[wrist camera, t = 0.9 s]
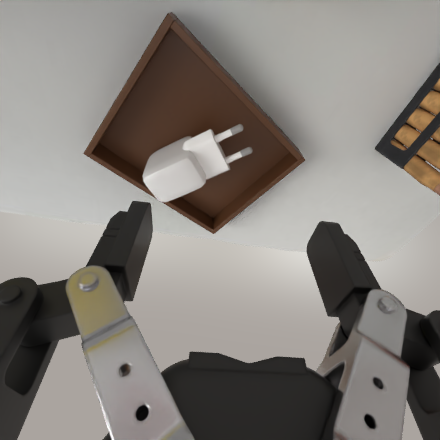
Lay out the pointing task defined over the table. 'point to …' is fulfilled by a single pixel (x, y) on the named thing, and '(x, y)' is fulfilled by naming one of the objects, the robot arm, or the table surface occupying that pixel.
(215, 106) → the tray
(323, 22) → the table surface
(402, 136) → the ammunition clip
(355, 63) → the table surface
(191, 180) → the power adapter
